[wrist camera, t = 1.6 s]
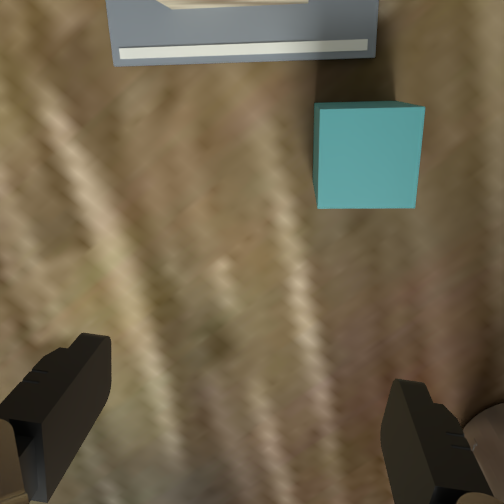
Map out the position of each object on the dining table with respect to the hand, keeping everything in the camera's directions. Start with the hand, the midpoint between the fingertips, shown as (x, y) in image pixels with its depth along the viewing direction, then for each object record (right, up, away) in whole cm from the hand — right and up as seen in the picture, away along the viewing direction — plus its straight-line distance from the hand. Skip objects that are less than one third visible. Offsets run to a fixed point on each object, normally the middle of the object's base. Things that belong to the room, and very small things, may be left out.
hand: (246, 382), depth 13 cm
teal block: (+7, +11, +17) cm, 21 cm away
